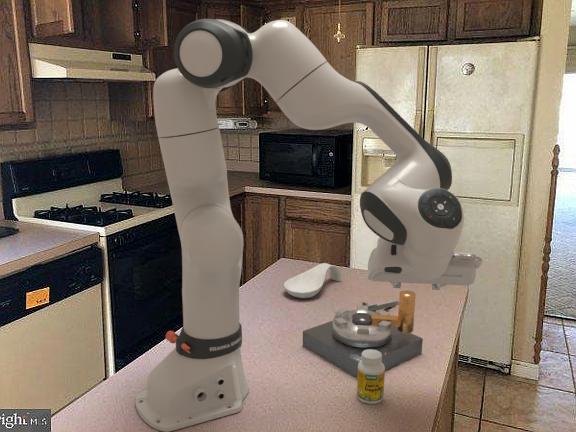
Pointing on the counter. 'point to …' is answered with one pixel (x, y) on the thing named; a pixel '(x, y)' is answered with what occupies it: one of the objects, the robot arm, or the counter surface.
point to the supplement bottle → (370, 377)
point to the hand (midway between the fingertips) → (415, 285)
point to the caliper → (380, 305)
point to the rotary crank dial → (373, 323)
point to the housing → (360, 348)
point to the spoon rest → (311, 281)
